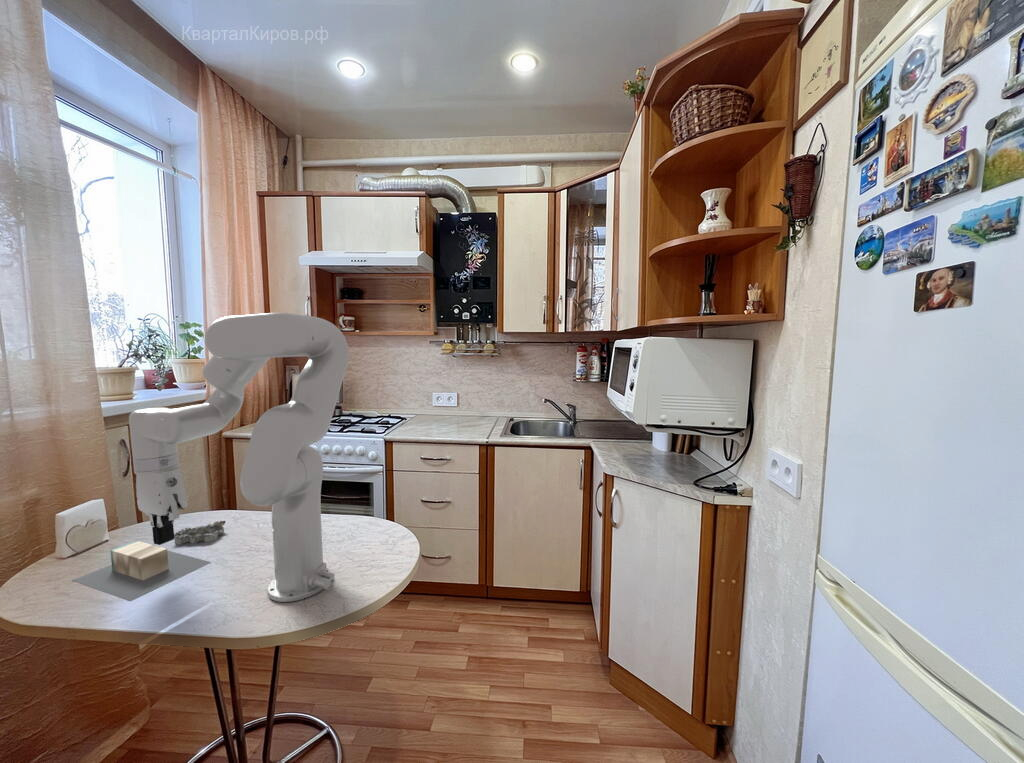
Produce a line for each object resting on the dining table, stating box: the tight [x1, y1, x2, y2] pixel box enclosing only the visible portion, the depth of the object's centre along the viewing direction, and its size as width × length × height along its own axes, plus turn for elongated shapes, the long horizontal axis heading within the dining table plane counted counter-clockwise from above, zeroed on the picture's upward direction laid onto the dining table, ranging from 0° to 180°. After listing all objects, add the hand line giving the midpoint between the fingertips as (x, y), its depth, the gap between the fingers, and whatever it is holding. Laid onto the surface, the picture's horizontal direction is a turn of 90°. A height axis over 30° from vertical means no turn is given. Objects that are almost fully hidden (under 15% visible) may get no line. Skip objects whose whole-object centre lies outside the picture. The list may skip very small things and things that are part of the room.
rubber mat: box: [71, 549, 212, 602], centre depth 94 cm, size 22×16×1 cm
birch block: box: [110, 540, 169, 580], centre depth 94 cm, size 5×5×12 cm
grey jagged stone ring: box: [173, 520, 226, 546], centre depth 110 cm, size 11×8×4 cm
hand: (164, 541), depth 90 cm, fingers closed
